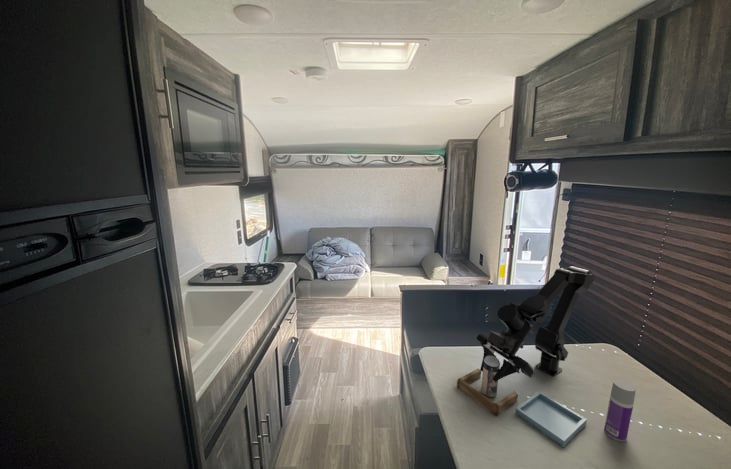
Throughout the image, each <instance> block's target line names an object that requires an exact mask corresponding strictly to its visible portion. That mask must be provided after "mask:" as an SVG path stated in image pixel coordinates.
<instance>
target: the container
mask: <svg viewBox="0 0 731 469" xmlns="http://www.w3.org/2000/svg"><path fill="white" fill-rule="evenodd" d="M636 391H637V389H636V387H635V386H634V385H633V384H632V383H630V382H628V381H625V380H622V379H614V380H613V383H612V385H611V390H610V395H609V401H608V406H607V410H606V411H607V412H606V417H605V422H604V429H603V431H604V433H605V435H607V436H609V437H610V439H612V440H615V441H617V442H625V441H627V439H628V434H629V428H630V423H631V418H632V415H633V409H634V402H635V396H636Z"/></svg>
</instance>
